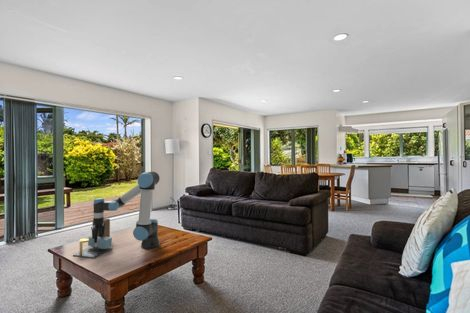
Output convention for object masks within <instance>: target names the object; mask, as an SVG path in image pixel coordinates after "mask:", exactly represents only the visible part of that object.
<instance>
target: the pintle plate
mask: <svg viewBox="0 0 470 313" xmlns="http://www.w3.org/2000/svg"><path fill="white" fill-rule="evenodd" d="M106 239H107V237H104V240H106ZM88 242H89V238H88V237H86V238H80V239H79V251H78V252H76V253H73V254H72V257H79V258H87V259H96V258H98V257H100V256H101V255H104V254H106V253H108V252H110V251H112V250H113V247H108V248H106V249H102V248H98V247H95V246H88V247H87V248H85V249H83V244H84V243H88Z"/></svg>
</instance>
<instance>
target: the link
mask: <svg viewBox="0 0 470 313" xmlns="http://www.w3.org/2000/svg"><path fill="white" fill-rule="evenodd" d="M87 238H89V242H87V246H88V247H91V246H95V243H94V239H92V235H90V236H88V237H87ZM112 241H113V237H111V236H110V237H107V239H106V240H104V237H98V248H102V249H106V248H108V247H109V248H111V247H112V243H113V242H112Z"/></svg>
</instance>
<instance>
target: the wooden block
mask: <svg viewBox="0 0 470 313" xmlns="http://www.w3.org/2000/svg"><path fill="white" fill-rule="evenodd" d="M103 223H105V230H104V235H103V237H111V235H110V234H111V233H110V232H111V231H110V230H111V227H110V226H111V219H110V218H104V221H103ZM93 226H94V222H93V221H92V227H93ZM102 234H103V233H102ZM98 237H99V231H98Z"/></svg>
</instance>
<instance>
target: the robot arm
mask: <svg viewBox="0 0 470 313" xmlns="http://www.w3.org/2000/svg"><path fill="white" fill-rule="evenodd" d="M159 181H160V174H158V173H157V172H155V171H147V172H142V173H141V174H140V175H139V176H138V177H137V184H136V185H134V186H133V187H132V188H131V189H129V190H128V191H126V192H125V193H124V194H122V195H121V196H120V197H118V198H116V199H112V200H109V201H107V200H105V198H103V197H99V198H94V199H93V204H92V205H93V214H92V215H93V220H92V223H93V222H94V226H93V225H92V226H90V229H91V236H92V239H94V243H95V247H98V231H99V237H103V235H104V230H105V223H103V221H104V219H105V217H104V215H105V212H104V211H108V212H110V211H111V212H113V211H114V212H115V211H117V210H118V209H119V208H122V207H124V206H126V204H127V203H129V202H130V201H131V200H133V199H135V198H136V197H137V196H139V195H140V197H139V198H140V201H139V213H138V220H137V221H136V224H135V228H134V229H133V231H132V235H133V238H135V239H136V240H137V241H141V243H140V247H141V249H145V250H151V249H155V248H158V247H160V244H161V243H160V238H159V234H158V232H159V231H158V228H159V226H158V224H159V221H158V219H156V218H151V209H152V198H153V191H154V190H155V186H156V185H158V183H159ZM102 233H103V234H102Z"/></svg>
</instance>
